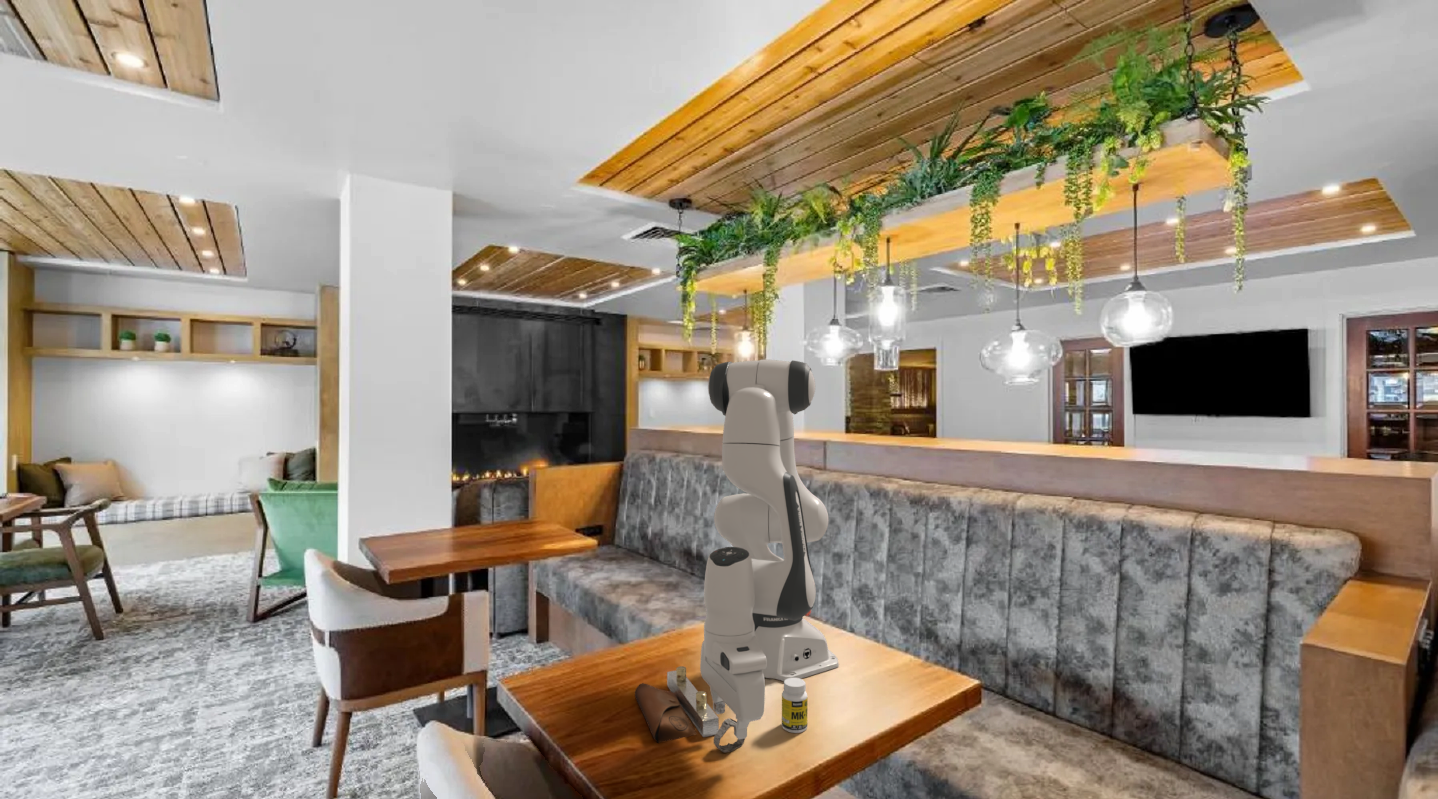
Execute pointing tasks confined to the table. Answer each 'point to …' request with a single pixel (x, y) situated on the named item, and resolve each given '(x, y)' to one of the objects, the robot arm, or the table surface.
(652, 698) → the sunglasses case
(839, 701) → the table surface
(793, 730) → the supplement bottle
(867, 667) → the table surface
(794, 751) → the table surface
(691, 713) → the white board with knobs
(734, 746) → the wristwatch
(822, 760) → the table surface
